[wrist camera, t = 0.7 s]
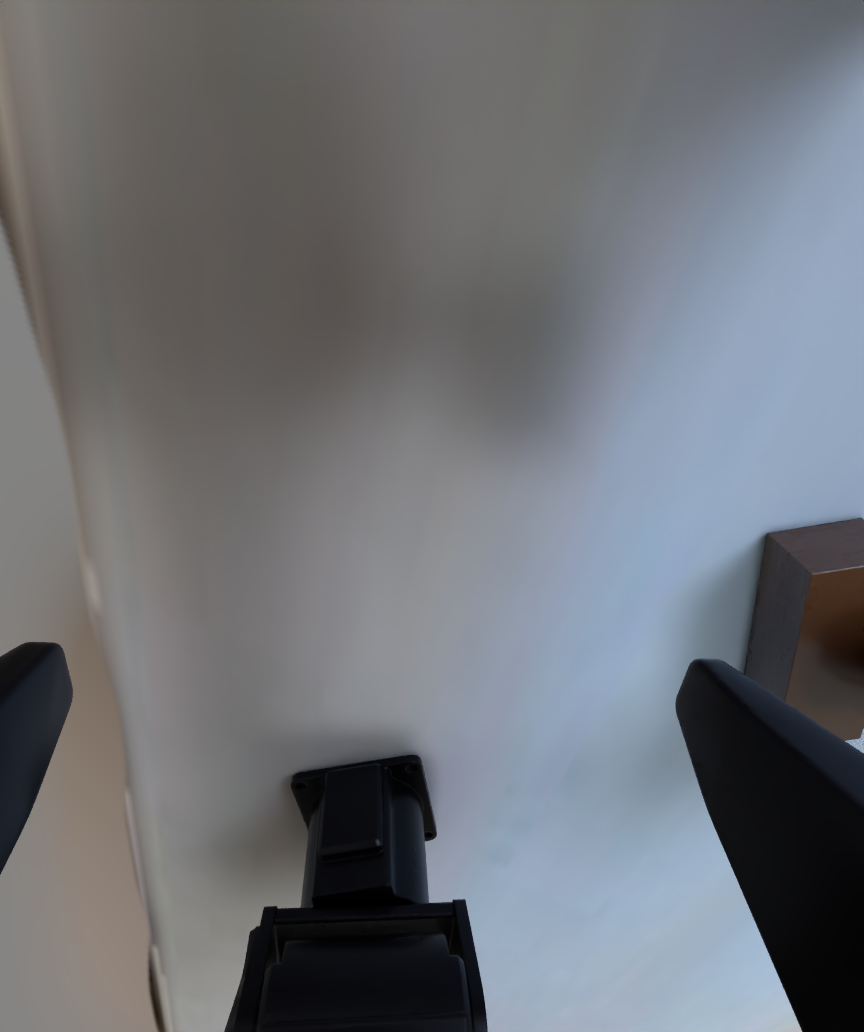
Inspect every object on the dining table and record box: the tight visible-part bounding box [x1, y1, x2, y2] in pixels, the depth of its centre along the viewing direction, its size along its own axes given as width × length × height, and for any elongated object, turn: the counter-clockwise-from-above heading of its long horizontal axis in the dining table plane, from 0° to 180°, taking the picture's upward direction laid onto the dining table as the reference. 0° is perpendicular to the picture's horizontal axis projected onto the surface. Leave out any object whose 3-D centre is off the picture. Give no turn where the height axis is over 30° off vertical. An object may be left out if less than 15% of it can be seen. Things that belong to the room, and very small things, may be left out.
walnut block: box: [744, 518, 864, 741], centre depth 26 cm, size 10×4×3 cm, turn 8°
